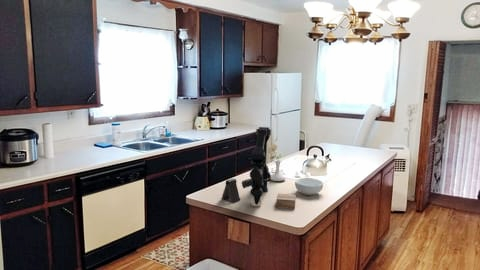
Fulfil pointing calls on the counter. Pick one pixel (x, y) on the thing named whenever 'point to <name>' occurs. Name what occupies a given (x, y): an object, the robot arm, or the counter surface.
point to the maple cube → (254, 201)
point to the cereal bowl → (308, 186)
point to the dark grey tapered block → (231, 191)
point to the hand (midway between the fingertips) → (256, 202)
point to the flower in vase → (277, 174)
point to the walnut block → (285, 201)
